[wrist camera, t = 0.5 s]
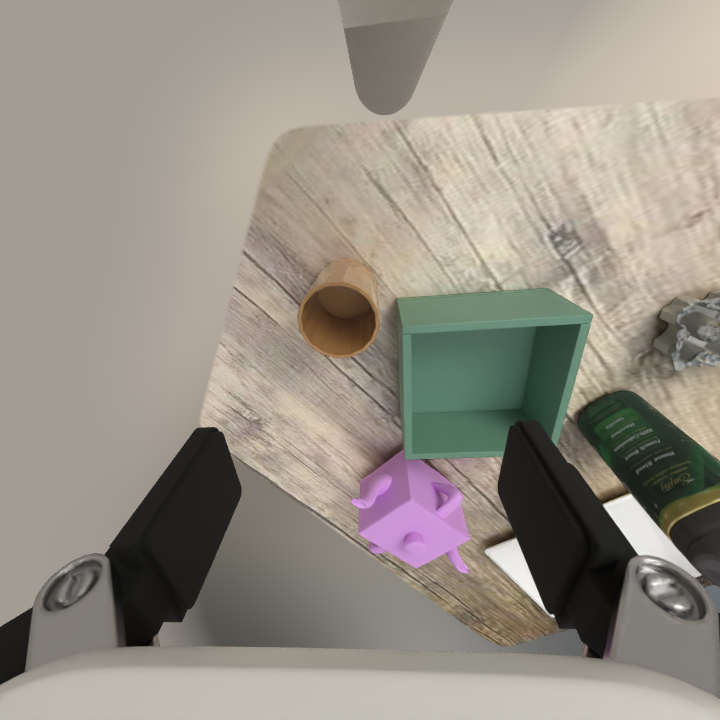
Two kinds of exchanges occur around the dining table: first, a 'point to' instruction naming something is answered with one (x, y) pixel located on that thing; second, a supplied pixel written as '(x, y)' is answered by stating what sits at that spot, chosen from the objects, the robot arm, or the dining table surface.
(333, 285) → the paper cup
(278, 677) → the robot arm
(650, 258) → the dining table surface
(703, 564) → the coffee jar
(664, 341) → the egg carton
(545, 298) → the bin
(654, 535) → the plate
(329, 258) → the dining table surface
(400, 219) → the dining table surface
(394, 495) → the teapot
